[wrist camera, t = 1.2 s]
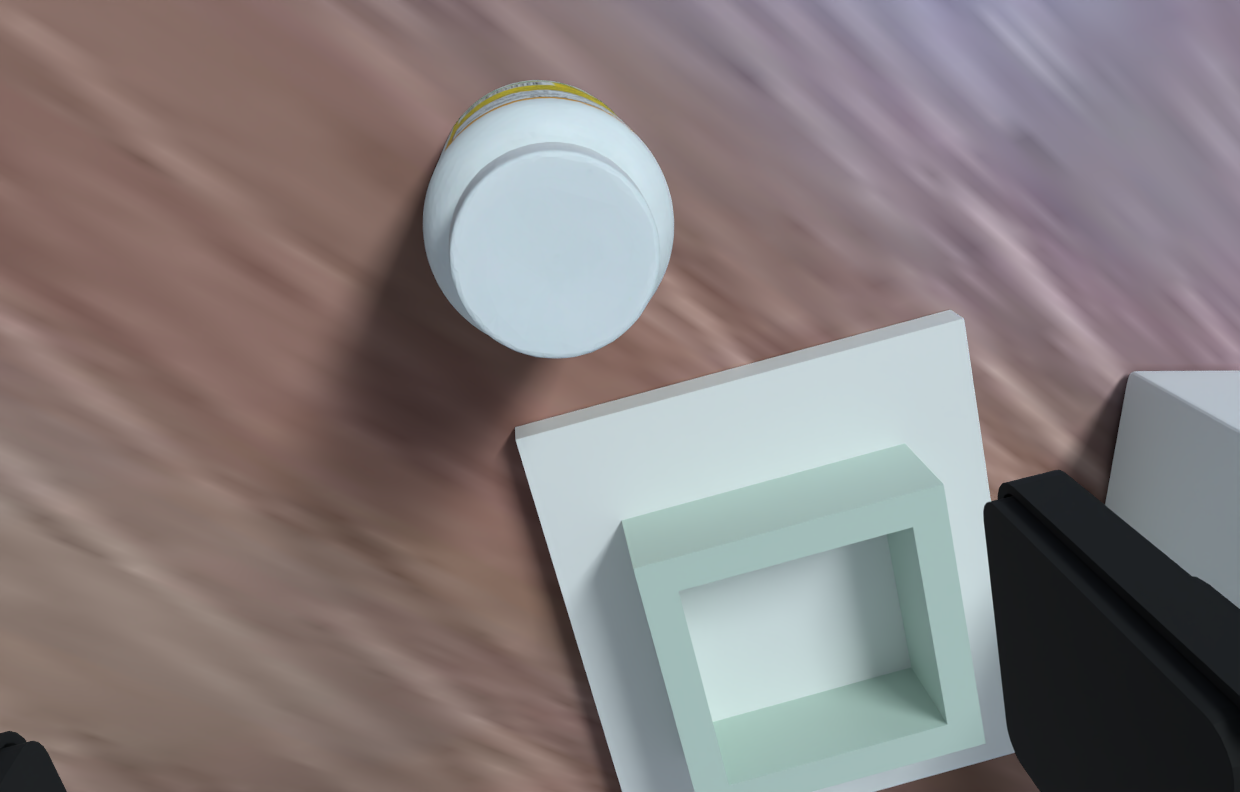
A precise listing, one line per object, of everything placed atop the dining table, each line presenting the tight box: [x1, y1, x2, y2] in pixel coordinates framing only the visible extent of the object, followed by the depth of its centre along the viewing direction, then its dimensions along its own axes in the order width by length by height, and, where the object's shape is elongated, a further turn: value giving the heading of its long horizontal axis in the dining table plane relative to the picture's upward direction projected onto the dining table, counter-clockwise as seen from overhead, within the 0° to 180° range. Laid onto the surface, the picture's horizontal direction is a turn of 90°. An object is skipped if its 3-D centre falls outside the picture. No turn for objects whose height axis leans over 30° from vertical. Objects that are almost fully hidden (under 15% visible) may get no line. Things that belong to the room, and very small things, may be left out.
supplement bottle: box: [423, 80, 674, 358], centre depth 25 cm, size 5×5×10 cm
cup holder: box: [515, 310, 1015, 792], centre depth 33 cm, size 15×13×4 cm
